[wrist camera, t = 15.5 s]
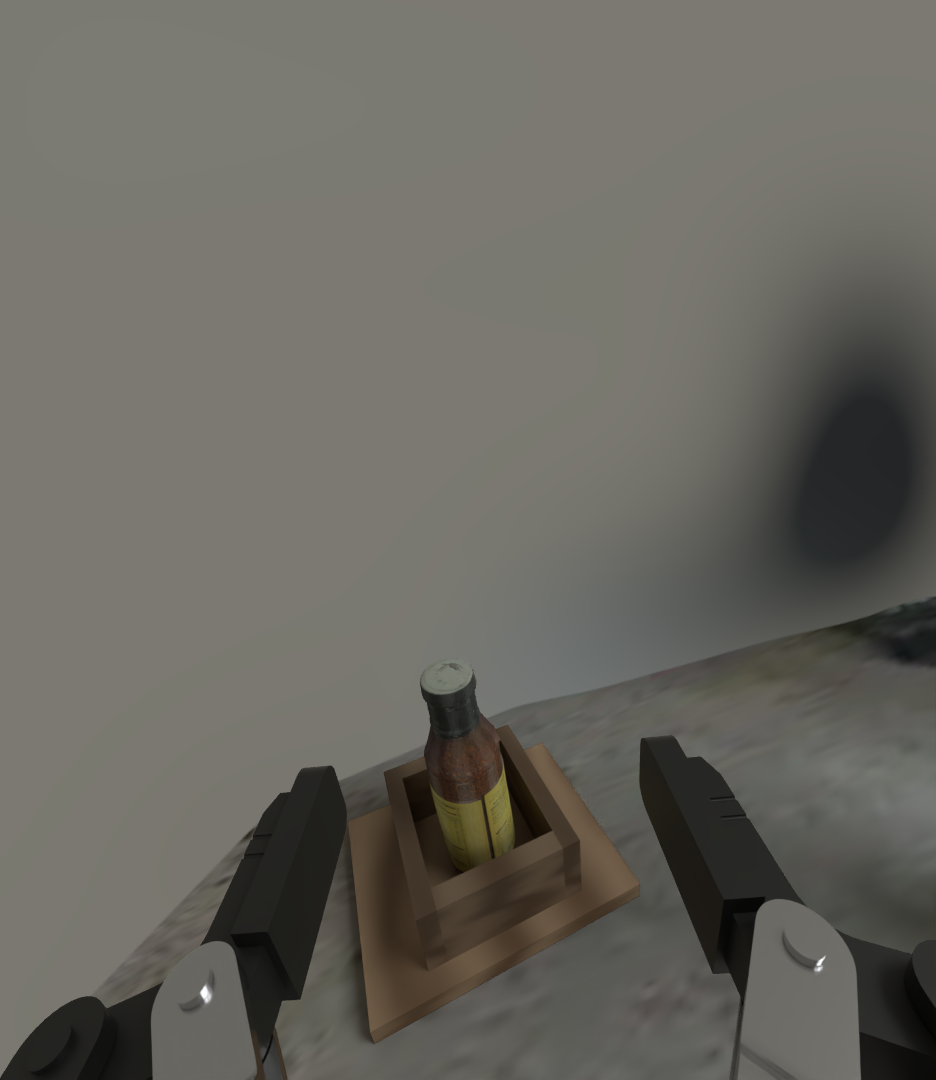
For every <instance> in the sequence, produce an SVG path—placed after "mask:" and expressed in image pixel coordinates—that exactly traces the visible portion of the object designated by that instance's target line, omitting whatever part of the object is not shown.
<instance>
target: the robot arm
mask: <svg viewBox="0 0 936 1080" xmlns="http://www.w3.org/2000/svg"><path fill="white" fill-rule="evenodd" d="M639 782H640V790H641V795H642V799H643V802H644V805H645V808H646V811H647V813H648V816H649V818H650V821H651V823H652V825H653V828H654V830H655V833H656V835H657V838H658V840H659V843H660V845H661V848H662V850H663V852H664V855H665V857H666V860H667V862H668V865H669V867H670V870H671V872H672V875H673V877H674V879H675V882H676V884H677V887H678V889H679V892H680V894H681V897H682V899H683V902H684V904H685V906H686V909H687V911H688V914H689V916H690V919H691V921H692V924H693V926H694V928H695V931H696V933H697V936H698V938H699V941H700V943H701V946H702V948H703V951H704V953H705V955H706V958H707V960H708V963H709V965H710V968H711V970H712V973H713V974H720V973H730V974H731V976H732V978H733V980H734V983H735V985H736V987H737V990H738V992H739V994H740V996H741V997H740V1003H739V1011H738V1018H737V1026H736V1033H735V1041H734V1048H733V1056H732V1063H731V1071H730V1078H729V1080H936V940H930V941H925V942H922V943H920V944H919V945H918V946H916V948H915V950H914V952H913V954H909V953H905V952H901V951H898V950H894V949H891V948H887V947H884V946H880V945H876V944H873V943H869V942H866V941H862V940H859V939H856V938H853V937H850V936H848V935H846V934H844V933H842V932H840V931H838V930H836V929H835V928H833V927H832V926H831V925H830V924H829V923H828V922H827V921H826V920H825V919H823V918H822V917H821V916H820V915H818V914H817V913H816V912H814V911H813V910H811V909H809V908H808V907H807V906H806V905H805V904H804V903H803V902H802V901H801V899H800V898H799V897H798V895H797V894H796V893H795V891H794V890H793V888H792V887H791V885H790V883H789V882H788V880H787V879H786V877H785V876H784V874H783V872H782V871H781V869H780V868H779V866H778V864H777V863H776V861H775V860H774V858H773V856H772V855H771V853H770V852H769V850H768V849H767V847H766V845H765V844H764V842H763V841H762V839H761V837H760V836H759V834H758V833H757V831H756V829H755V828H754V826H753V825H752V823H751V822H750V820H749V819H747V817H746V814H745V812H744V810H743V809H742V807H741V806H740V804H739V802H738V801H737V800H735V797H734V795H733V793H732V791H731V790H730V788H729V787H728V785H727V783H726V782H725V780H724V779H723V777H722V775H721V774H720V773H719V772H718V771H716V770H715V769H714V768H713V767H712V766H711V765H710V764H708V763H707V762H706V761H705V760H704V759H703V758H702V757H691V758H687V757H686V756H685V754H684V752H683V750H682V749H681V747H680V745H679V743H678V742H677V740H676V739H675V737H673V736H672V735H670V736H659V737H648V738H642V739H641V744H640V777H639ZM346 822H347V811H346V805H345V801H344V798H343V795H342V792H341V789H340V786H339V782H338V780H337V776H336V773H335V770H334V768H333V767H332V766H322V767H311V768H303V769H301V771H300V772H299V773H298V776H297V778H296V780H295V782H294V785H293V787H292V789H291V792H287V793H280V794H279V795H278V796H277V798H276V799H275V800H274V801H273V802H272V804H271V805H270V806H269V807H268V808H267V809H266V811H265V812H264V813H263V815H262V817H261V819H260V821H259V824H258V826H257V828H256V830H255V832H254V834H253V839H252V840H251V841H250V843H249V845H248V847H247V849H246V852H245V854H244V859H242V860H241V862H240V865H239V867H238V869H237V871H236V873H235V875H234V877H233V880H232V882H231V884H230V886H229V888H228V890H227V892H226V895H225V897H224V899H223V901H222V903H221V905H220V908H219V910H218V912H217V914H216V916H215V918H214V920H213V923H212V925H211V927H210V929H209V931H208V933H207V935H206V937H205V939H204V941H203V942H202V944H201V945H200V946H199V947H197V948H196V949H194V950H193V951H191V952H190V953H189V954H188V955H186V956H185V957H184V958H183V959H182V960H181V961H180V962H179V963H178V964H177V965H176V966H175V967H174V968H173V970H172V971H171V972H170V973H169V975H168V976H167V978H166V979H165V981H164V982H162V983H161V984H159V985H157V986H155V987H153V988H151V989H149V990H146V991H144V992H142V993H140V994H138V995H135V996H133V997H131V998H129V999H127V1000H125V1001H122V1002H120V1003H118V1004H116V1005H114V1006H111V1007H109V1008H107V1009H106V1007H105V1006H104V1005H103V1004H102V1002H101V1001H100V1000H99V999H97V998H95V997H92V996H87V997H81V998H78V999H75V1000H73V1001H71V1002H69V1003H67V1004H65V1005H64V1006H62V1007H60V1008H59V1009H58V1010H56V1011H55V1012H53V1013H52V1014H51V1015H50V1016H49V1017H48V1018H46V1019H45V1020H44V1021H43V1022H42V1023H41V1024H40V1025H39V1026H38V1027H37V1028H36V1029H35V1030H34V1031H33V1032H32V1033H31V1034H30V1035H29V1037H28V1038H27V1039H26V1040H25V1042H24V1043H23V1044H22V1045H21V1047H20V1048H19V1050H18V1051H17V1053H16V1054H15V1056H14V1057H13V1058H12V1060H11V1062H10V1063H9V1065H8V1067H7V1068H6V1070H5V1071H4V1073H3V1074H2V1076H1V1078H0V1080H288V1079H287V1075H286V1070H285V1066H284V1062H283V1058H282V1053H281V1049H280V1045H279V1041H278V1036H277V1032H276V1029H275V1023H276V1019H277V1016H278V1013H279V1009H280V1006H281V1002H282V1001H285V1000H300V999H301V995H302V991H303V987H304V984H305V980H306V976H307V972H308V969H309V965H310V961H311V958H312V954H313V950H314V946H315V943H316V939H317V935H318V931H319V928H320V924H321V920H322V916H323V913H324V909H325V905H326V902H327V898H328V894H329V890H330V887H331V883H332V879H333V875H334V872H335V868H336V864H337V860H338V857H339V853H340V849H341V846H342V842H343V838H344V834H345V830H346Z"/></svg>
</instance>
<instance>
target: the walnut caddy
mask: <svg viewBox="0 0 936 1080" xmlns="http://www.w3.org/2000/svg"><path fill="white" fill-rule="evenodd" d="M496 734H497V738H498V741H499V748H500V753H501V755H502V758H503V764H504V770H505V776H506V782H507V788H508V794H509V799H510V805H511V811H512V817H513V823H514V829H515V849H513V850H511V851H509V852H507V853H504V854H502V855H500V856H498V857H496V858H494V859H492V860H490V861H488V862H486V863H483V864H481V865H479V866H477V867H475V868H473V869H471V870H469V871H467V872H464V873H462V874H460V873H459V872H458V870H456V868H455V867H454V865H453V863H452V862H451V859H450V857H449V855H448V852H447V848H446V845H445V841H444V837H443V833H442V829H441V825H440V822H439V818H438V814H437V811H436V807H435V803H434V799H433V795H432V791H431V787H430V782H429V777H428V771H427V767H426V762H425V758H424V757H422V758H419V759H417V760H414V761H411V762H409V763H406V764H404V765H401V766H398V767H396V768H393V769H390V770H388V771H385V772H384V776H385V781H386V786H387V790H388V795H389V800H390V805H388V806H385V807H383V808H380V809H378V810H375V811H373V812H370V813H368V814H366V815H363V816H361V817H358V818H356V819H353V820H351V821H348V827H349V837H350V846H351V856H352V865H353V875H354V884H355V894H356V903H357V913H358V922H359V932H360V941H361V950H362V960H363V969H364V979H365V988H366V998H367V1007H368V1017H369V1026H370V1033H371V1036H372V1039H373V1041H374V1044H375V1043H377V1042H379V1041H381V1040H382V1039H384V1038H386V1037H388V1036H390V1035H391V1034H393V1033H395V1032H397V1031H399V1030H400V1029H402V1028H404V1027H406V1026H407V1025H409V1024H411V1023H413V1022H415V1021H416V1020H418V1019H420V1018H422V1017H424V1016H425V1015H427V1014H429V1013H431V1012H432V1011H434V1010H436V1009H438V1008H440V1007H441V1006H443V1005H445V1004H447V1003H449V1002H450V1001H452V1000H454V999H456V998H457V997H459V996H461V995H463V994H465V993H466V992H468V991H470V990H472V989H474V988H475V987H477V986H479V985H481V984H483V983H484V982H486V981H488V980H490V979H491V978H493V977H495V976H497V975H499V974H500V973H502V972H504V971H506V970H508V969H509V968H511V967H513V966H515V965H516V964H518V963H520V962H522V961H524V960H525V959H527V958H529V957H531V956H533V955H534V954H536V953H538V952H540V951H542V950H543V949H545V948H547V947H549V946H550V945H552V944H554V943H556V942H558V941H559V940H561V939H563V938H565V937H567V936H568V935H570V934H572V933H574V932H575V931H577V930H579V929H581V928H583V927H584V926H586V925H588V924H590V923H592V922H593V921H595V920H597V919H599V918H600V917H602V916H604V915H606V914H608V913H609V912H611V911H613V910H615V909H617V908H618V907H620V906H622V905H624V904H626V903H627V902H629V901H631V900H633V899H634V898H636V897H638V896H640V883H639V882H638V880H637V879H636V877H635V876H634V875H633V873H632V872H631V870H630V869H629V867H628V866H627V864H626V863H625V862H624V860H623V859H622V857H621V856H620V854H619V853H618V851H617V850H616V849H615V847H614V846H613V844H612V843H611V841H610V840H609V838H608V837H607V836H606V834H605V833H604V831H603V830H602V828H601V827H600V825H599V824H598V822H597V821H596V820H595V818H594V817H593V815H592V814H591V812H590V811H589V809H588V808H587V807H586V805H585V804H584V802H583V801H582V799H581V798H580V796H579V795H578V794H577V792H576V791H575V789H574V788H573V786H572V785H571V783H570V782H569V781H568V779H567V778H566V776H565V775H564V773H563V772H562V770H561V769H560V767H559V766H558V765H557V763H556V762H555V760H554V759H553V757H552V756H551V754H550V753H549V752H548V750H547V749H546V747H545V746H544V744H543V743H540V744H538V745H536V746H533V747H531V748H528V749H526V750H523V748H522V747H521V745H520V743H519V742H518V740H517V738H516V737H515V735H514V734H513V732H512V730H511V729H510V727H509V726H508V725H505V726H503V727H500V728H498V729H496Z"/></svg>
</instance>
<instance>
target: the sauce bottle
mask: <svg viewBox="0 0 936 1080" xmlns="http://www.w3.org/2000/svg"><path fill="white" fill-rule="evenodd" d="M420 686H421V692H422V696H423V698H424V700H425V701H426V702H427V706H428V710H429V714H430V724H431V727H430V732H429V736H428V740H427V744H426V746H425V751H424V758H425V762H426V767H427V771H428V777H429V782H430V787H431V791H432V795H433V799H434V803H435V807H436V811H437V814H438V818H439V822H440V825H441V829H442V833H443V837H444V841H445V845H446V848H447V852H448V855H449V857H450V859H451V862H452V863H453V865H454V867H455V868H456V870H458V872H459V873H460V874H462V873H464V872H467V871H469V870H471V869H473V868H475V867H477V866H479V865H481V864H483V863H486V862H488V861H490V860H492V859H494V858H496V857H498V856H500V855H502V854H504V853H507V852H509V851H511V850H513V849H515V829H514V823H513V817H512V811H511V805H510V799H509V794H508V788H507V782H506V776H505V770H504V764H503V758H502V755H501V753H500V748H499V741H498V738H497V734H496V729H495V727H494V726H493V725H492V724H491V723H490V722H489V721H488V720H487V719H486V718H485V717H484V716H483V715H482V714H481V713H480V711H479V708H478V706H477V701H476V696H475V688H476V679H475V676H474V672H473V669H472V667H471V665H469V664H468V663H467V662H465V661H463V660H459V659H444V660H439V661H437V662H435V663H433V664H431V665H430V666H429V667H428V668H427V669H426V670H425V671H424V672H423V674H422V676H421V678H420Z"/></svg>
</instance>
